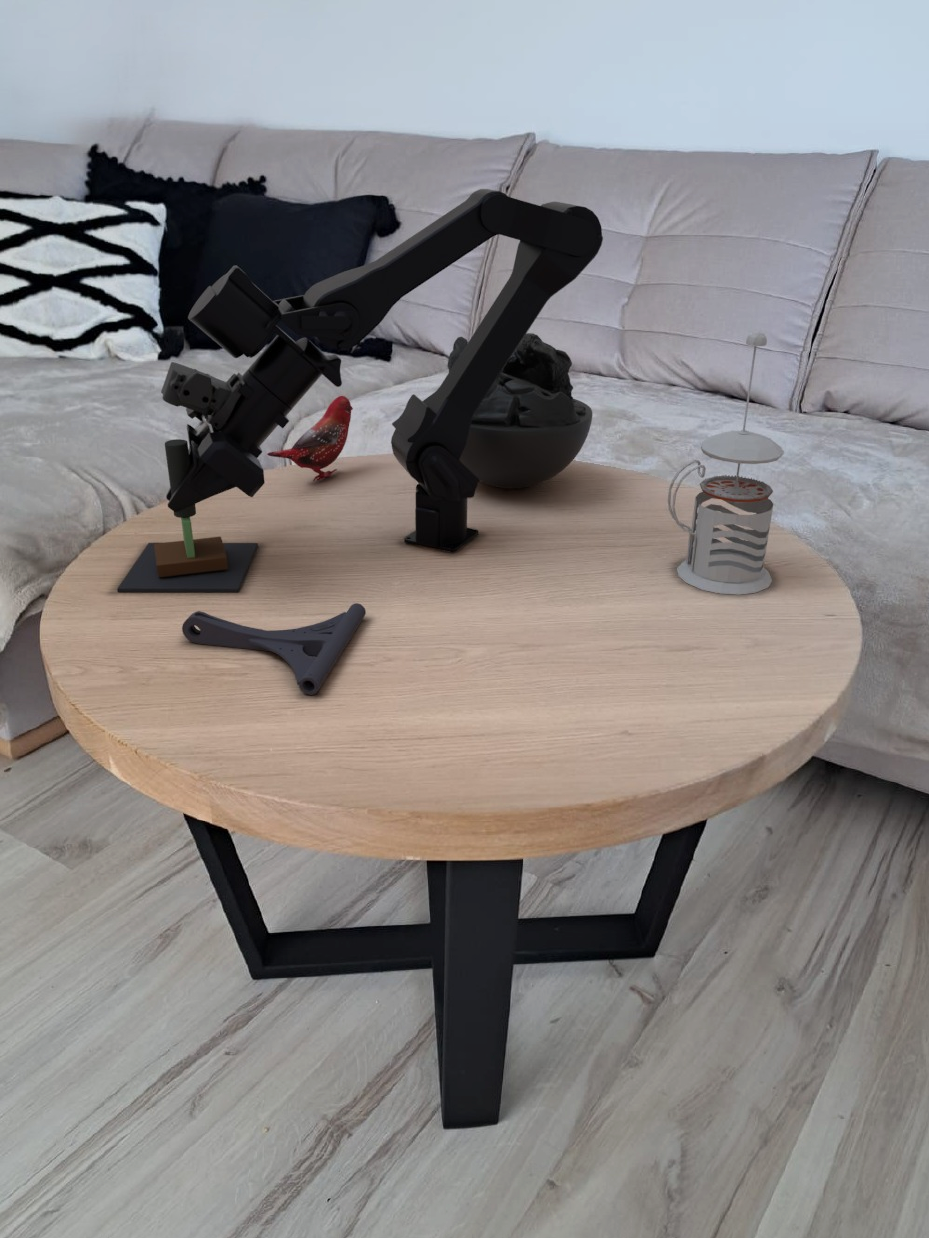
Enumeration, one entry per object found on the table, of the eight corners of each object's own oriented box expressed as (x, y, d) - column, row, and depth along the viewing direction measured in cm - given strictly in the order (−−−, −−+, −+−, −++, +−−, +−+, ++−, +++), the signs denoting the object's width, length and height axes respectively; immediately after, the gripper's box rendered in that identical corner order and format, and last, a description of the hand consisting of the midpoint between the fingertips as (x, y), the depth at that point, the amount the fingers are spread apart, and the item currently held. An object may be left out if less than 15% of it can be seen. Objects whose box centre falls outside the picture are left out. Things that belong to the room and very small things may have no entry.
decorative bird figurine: (363, 466, 136) (361, 393, 131) (280, 504, 122) (274, 424, 118) (346, 462, 137) (343, 390, 133) (261, 500, 123) (255, 421, 119)
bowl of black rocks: (606, 473, 134) (617, 330, 126) (557, 521, 118) (566, 361, 110) (471, 453, 142) (473, 317, 133) (407, 496, 125) (404, 344, 117)
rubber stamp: (222, 548, 108) (209, 431, 102) (228, 569, 103) (214, 447, 97) (155, 555, 106) (138, 436, 100) (158, 577, 101) (140, 454, 95)
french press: (786, 593, 101) (829, 342, 89) (674, 596, 100) (704, 343, 88) (753, 555, 109) (788, 321, 98) (649, 557, 108) (673, 322, 97)
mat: (149, 546, 110) (148, 542, 110) (258, 546, 110) (257, 542, 110) (117, 592, 99) (116, 588, 99) (238, 592, 100) (237, 588, 99)
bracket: (218, 605, 97) (215, 579, 96) (366, 619, 94) (365, 592, 93) (150, 679, 84) (146, 650, 83) (319, 697, 82) (317, 668, 81)
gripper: (197, 317, 103) (102, 430, 105) (215, 353, 87) (102, 486, 89) (279, 387, 109) (188, 493, 111) (310, 434, 93) (202, 556, 95)
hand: (170, 504), depth 101 cm, fingers closed on rubber stamp, 2 cm apart
